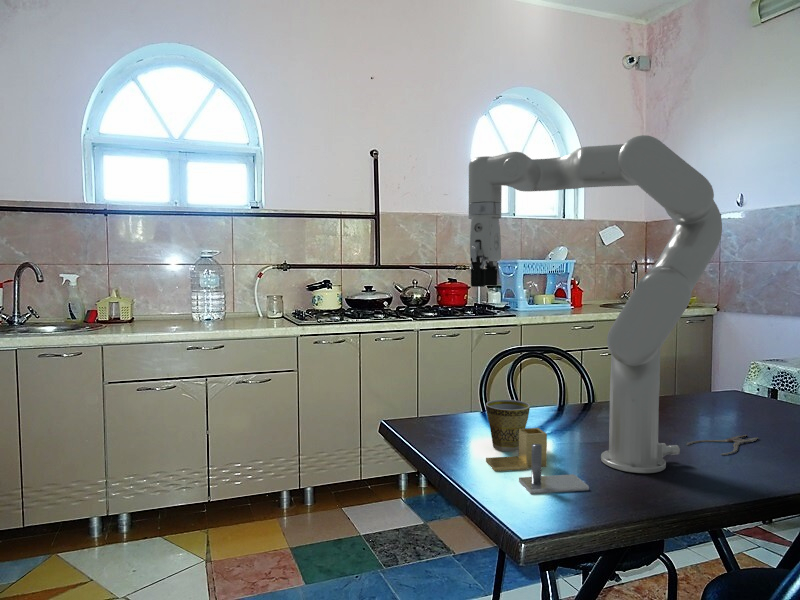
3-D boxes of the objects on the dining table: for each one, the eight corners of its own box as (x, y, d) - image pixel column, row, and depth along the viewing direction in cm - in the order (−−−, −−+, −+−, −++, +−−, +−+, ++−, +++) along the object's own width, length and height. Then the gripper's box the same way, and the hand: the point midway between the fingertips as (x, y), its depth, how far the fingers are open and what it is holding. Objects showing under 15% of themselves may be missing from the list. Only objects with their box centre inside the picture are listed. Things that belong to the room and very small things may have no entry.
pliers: (682, 444, 129) (717, 428, 142) (682, 448, 129) (717, 432, 142) (728, 455, 122) (760, 437, 135) (727, 459, 122) (760, 440, 135)
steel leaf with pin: (574, 478, 110) (574, 438, 110) (588, 490, 104) (589, 447, 104) (518, 481, 108) (519, 440, 108) (530, 493, 102) (530, 450, 102)
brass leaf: (536, 458, 121) (537, 426, 121) (548, 468, 115) (548, 434, 115) (486, 461, 120) (486, 429, 119) (494, 471, 114) (494, 437, 113)
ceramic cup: (530, 455, 124) (531, 410, 123) (484, 453, 125) (485, 408, 125) (527, 438, 136) (528, 397, 136) (486, 436, 138) (486, 396, 138)
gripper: (489, 207, 120) (489, 287, 121) (510, 214, 136) (509, 285, 137) (456, 209, 123) (456, 286, 124) (480, 215, 139) (480, 284, 140)
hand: (484, 286), depth 130 cm, fingers open, 9 cm apart
